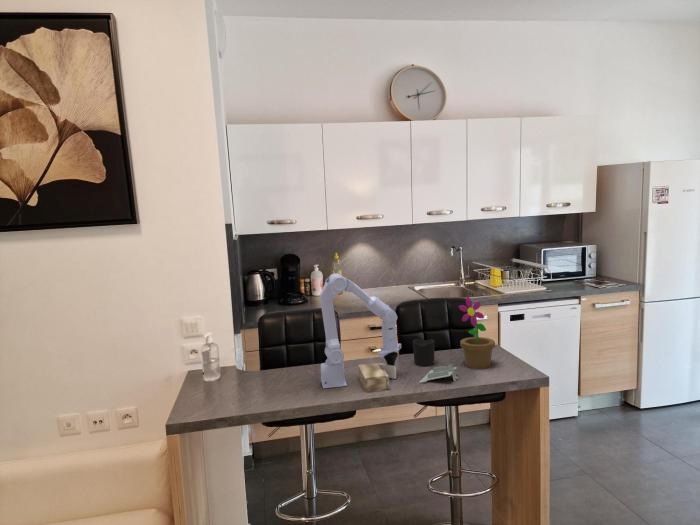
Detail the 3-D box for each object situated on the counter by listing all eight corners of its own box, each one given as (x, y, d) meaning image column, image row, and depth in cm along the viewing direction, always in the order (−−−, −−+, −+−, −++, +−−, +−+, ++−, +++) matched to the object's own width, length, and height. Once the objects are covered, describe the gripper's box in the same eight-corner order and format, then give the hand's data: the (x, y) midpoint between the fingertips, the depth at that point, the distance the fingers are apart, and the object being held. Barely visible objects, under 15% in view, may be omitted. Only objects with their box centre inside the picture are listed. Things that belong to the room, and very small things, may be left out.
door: (395, 378, 194) (394, 366, 194) (379, 375, 199) (378, 364, 198) (396, 378, 195) (395, 366, 195) (380, 375, 200) (380, 363, 199)
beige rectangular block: (365, 392, 182) (365, 378, 182) (358, 378, 198) (358, 365, 198) (391, 389, 184) (390, 375, 183) (382, 375, 200) (381, 362, 199)
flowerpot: (454, 365, 207) (451, 296, 204) (473, 357, 217) (471, 291, 213) (483, 372, 196) (481, 300, 193) (502, 363, 206) (500, 294, 203)
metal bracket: (458, 360, 196) (448, 372, 183) (463, 374, 196) (453, 387, 183) (426, 367, 203) (414, 379, 189) (430, 380, 203) (419, 393, 189)
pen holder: (422, 368, 206) (421, 345, 205) (409, 362, 214) (408, 340, 213) (439, 363, 211) (438, 341, 209) (426, 358, 219) (425, 337, 218)
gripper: (388, 343, 187) (390, 377, 189) (406, 334, 199) (408, 366, 200) (373, 341, 192) (375, 374, 193) (392, 332, 203) (393, 363, 205)
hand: (391, 370), depth 197 cm, fingers closed, pressing on door
